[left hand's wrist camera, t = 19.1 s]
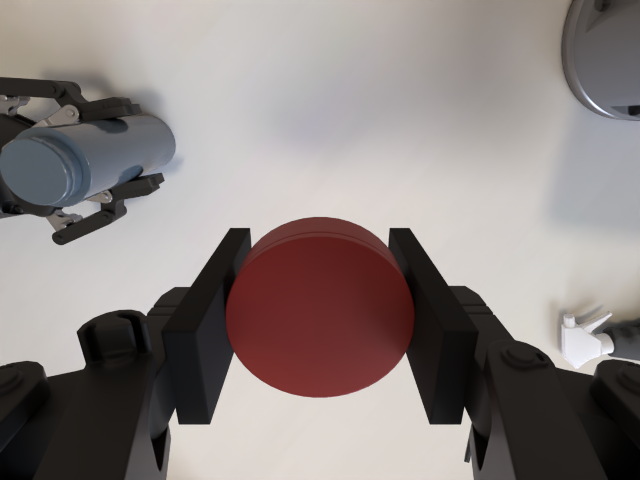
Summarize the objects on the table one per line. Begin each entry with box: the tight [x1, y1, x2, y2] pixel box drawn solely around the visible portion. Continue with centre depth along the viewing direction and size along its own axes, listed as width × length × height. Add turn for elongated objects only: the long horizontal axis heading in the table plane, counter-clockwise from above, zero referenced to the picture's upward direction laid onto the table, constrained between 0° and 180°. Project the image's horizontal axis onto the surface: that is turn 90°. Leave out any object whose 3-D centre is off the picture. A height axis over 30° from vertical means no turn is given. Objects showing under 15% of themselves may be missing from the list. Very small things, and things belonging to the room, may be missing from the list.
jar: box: [0, 115, 175, 207], centre depth 28 cm, size 5×5×15 cm
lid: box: [225, 217, 415, 398], centre depth 11 cm, size 5×5×2 cm
